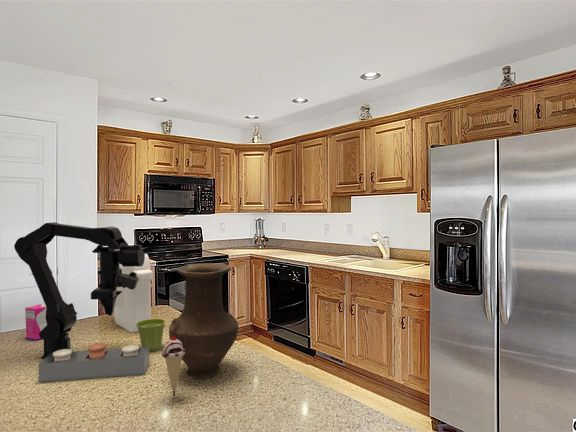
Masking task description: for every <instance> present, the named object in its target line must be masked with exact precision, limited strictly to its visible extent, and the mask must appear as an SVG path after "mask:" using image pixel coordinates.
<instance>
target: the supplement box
mask: <svg viewBox="0 0 576 432" xmlns="http://www.w3.org/2000/svg"><path fill="white" fill-rule="evenodd" d="M24 311H25V335H26V336H25V337H26V338H25V339H26V340H30V341H34V342H37V341H41V338H40V336H39V332H40V331H41V330H42V329H43V328H44V327H46V326H47V323H46V318H45V316H46V305H45V304H43V303H41V304H40V303H39V304H36V305H32V306H28V307H25V309H24Z"/></svg>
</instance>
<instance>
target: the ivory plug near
mask: <svg viewBox="0 0 576 432" xmlns="http://www.w3.org/2000/svg"><path fill="white" fill-rule="evenodd" d="M72 352H73V350H72V348H71V349H63V350H58V351H55V352H54V353H53V357H54V361H59V360H69V359H70V358H71V354H72Z"/></svg>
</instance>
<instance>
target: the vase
mask: <svg viewBox="0 0 576 432" xmlns="http://www.w3.org/2000/svg"><path fill="white" fill-rule="evenodd" d="M231 270H232V267H231V265H229V264H224V263H191V264H188V265H183V266H179V267H177V268H176V272H177V274H180V275H183V276H184V278H185V279H184V280H185V284H184V286H185V288H184V289H185V294H184V295H185V296H184V306H183V309H182V311H181V314H180V315H179V316H178V317H177V318H173V319H172V320H171V323H170V325H169V327H168V336H169V337H168V338H169V340H170V339H171V338H172V337H175V338H176V339H178V340H181V343H182V345H183V348H184V349H185V351H186V352H185V354H184V355H183V356H182V362H183V363H184V364H185V365H186V367H187V369H186V371H185V374H186V376H187V377H188V378H193V379H206V378H210V377H215V376H216V375H218V373H219V372H220V370H221V369H222V368H221V366H220V364H221V363H222V361H223V360H224V358H225V357H226V355H227V354H228V353H229V352H230V349H231V348H232V347H233V345H234V344H235V341H236V339H237V337H238V333H239V322H238V320H237V319H236V318H235V317H234V316H233V315H232V314H231V313H229V312H226V311H225V309H224V305H223V276H224V274H226V273H228V272H230V271H231Z"/></svg>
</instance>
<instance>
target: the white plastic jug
mask: <svg viewBox="0 0 576 432" xmlns="http://www.w3.org/2000/svg"><path fill="white" fill-rule="evenodd" d="M144 254H145V260H144V264H143V266H128V267H124V266H122V265H121V264H120V263H119V268H121V269H122V273H123V274H128V275H129V274H130V273H131V272H135V273H137V277H139V281H138V283H137V285H136V288H134V290H131V289H129V288H127V287H126V288H123V287H117V289H118V291H122V293H120V294H119V295H118V296H117V298H116V302H115V306H114V310H113V316H114V321H115V324H116V325H117V326H119V327H121V328H122V329H124V330H125V331H127V332H130V333H139V330H138V328H137V326H136V323H138V322H140V321H143V320H147V319H152V312H151V310H152V306H151V303H152V301H151V300H152V297H151V294H152V293H151V292H152V291H151V289H152V288H151V286H152V284H151V281H152V279H153V278H154V271H153V270H151V262H150V257H149V255H148V254H147V253H144Z"/></svg>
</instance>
